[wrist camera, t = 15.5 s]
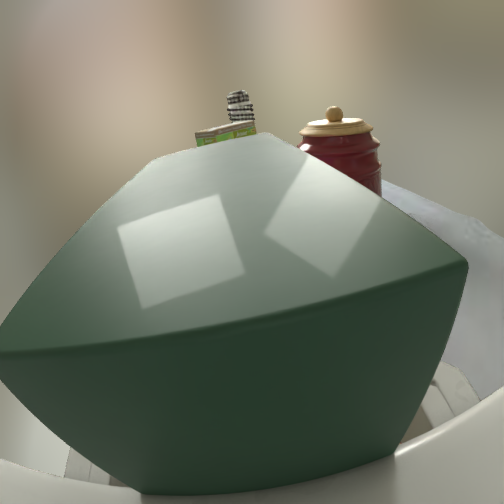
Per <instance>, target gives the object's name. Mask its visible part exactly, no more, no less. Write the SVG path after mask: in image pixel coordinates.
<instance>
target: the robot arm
mask: <svg viewBox="0 0 504 504" xmlns="http://www.w3.org/2000/svg"><path fill="white" fill-rule="evenodd" d="M401 442H402V444H400V445H398V447H397V449H396V450H395V452H394V453H393V454H391V455H389V456H386V457H384V458H381V459H378V460H376V461H373V462H370V463H368V464H365V465H362V466H359V467H356V468H353V469H350V470H347V471H343V472H340V473H337V474H333V475H330V476H326V477H322V478H318V479H314V480H310V481H306V482H301V483H297V484H292V485H287V486H282V487H276V488H270V489H264V490H257V491H250V492H241V493H231V494H218V495H198V496H166V495H145V494H141V493H139V492H138V491H136V490H134V489H132V488H131V487H129V486H127V485H125V484H124V483H122V482H121V481H119V480H117V479H116V478H114V477H113V476H111V475H109V474H108V473H106V472H105V471H103V470H102V469H100V468H99V467H97V466H96V465H95V464H93V463H92V462H90V461H89V460H87V459H86V458H85V457H83V456H82V455H81V454H79V453H78V452H77V451H75V450H74V449H73V448H72V447H70V452H69V456H68V460H67V465H66V470H65V475H64V477H60V476H56V475H52V474H48V473H44V472H41V471H37V470H34V469H30V468H27V467H24V466H21V465H18V464H15V463H12V462H10V461H7V460H4V459H1V458H0V504H504V386H503V387H501V388H500V389H498V390H497V391H496V392H494V393H493V394H491V395H490V396H488V397H487V398H485V399H484V400H482V401H481V400H480V398H479V397H478V395H477V394H476V392H475V390H474V389H473V387H472V386H471V384H470V383H469V381H468V380H467V378H466V377H465V376H464V374H463V373H462V371H461V370H460V369H458V368H456V367H454V366H451V365H449V364H447V363H445V362H443V361H440V363H439V365H438V367H437V370H436V372H435V375H434V377H433V379H432V382H431V384H430V386H429V388H428V390H427V393H426V395H425V397H424V399H423V401H422V403H421V405H420V407H419V409H418V411H417V413H416V415H415V417H414V419H413V421H412V422H411V424H410V426H409V428H408V430H407V432H406V433H405V435H404V437H403V439H402V440H401Z"/></svg>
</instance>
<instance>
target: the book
mask: <svg viewBox="0 0 504 504" xmlns="http://www.w3.org/2000/svg"><path fill="white" fill-rule="evenodd" d="M468 269H469V267H468V262H467V260H466V259H465V258H464V257H463V256H462V255H460V254H459V253H458V252H457V251H455V250H454V249H453V248H452V247H450V246H449V245H448V244H447V243H445V242H444V241H443V240H441V239H440V238H439V237H437V236H436V235H435V234H433V233H432V232H431V231H429V230H428V229H427V228H425V227H424V226H423V225H421V224H420V223H418V222H417V221H416V220H414V219H413V218H411V217H410V216H409V215H407V214H406V213H404V212H403V211H401V210H400V209H398V208H397V207H396V206H394V205H393V204H391V203H390V202H388V201H387V200H385V199H384V198H382V197H380V196H379V195H377V194H376V193H374V192H373V191H371V190H370V189H368V188H366V187H365V186H363V185H362V184H360V183H358V182H357V181H355V180H353V179H352V178H350V177H348V176H347V175H345V174H343V173H342V172H340V171H338V170H337V169H335V168H333V167H331V166H330V165H328V164H326V163H324V162H323V161H321V160H319V159H317V158H316V157H314V156H312V155H310V154H308V153H306V152H305V151H303V150H301V149H299V148H297V147H295V146H293V145H291V144H289V143H287V142H285V141H283V140H282V139H280V138H278V137H276V136H273V135H272V134H269V133H261V134H256V135H251V136H245V137H240V138H235V139H231V140H226V141H221V142H217V143H212V144H208V145H204V146H200V147H196V148H192V149H188V150H184V151H180V152H176V153H173V154H169V155H165V156H162V157H158V158H155V159H154V160H153V161H151V162H150V163H149V164H148V165H147V166H145V167H144V168H143V169H142V170H141V171H140V172H138V173H137V174H136V175H135V176H134V177H133V178H132V179H131V180H130V181H129V182H127V183H126V184H125V185H124V186H123V187H122V188H121V189H119V190H118V191H117V192H116V193H115V194H114V195H113V196H112V197H111V198H110V199H109V200H108V201H107V202H106V203H105V204H104V205H103V206H102V207H100V208H99V209H98V210H97V211H96V212H95V213H94V214H93V215H92V216H91V218H89V219H88V221H86V222H85V224H84V225H83V226H82V227H81V228H80V229H79V230H78V231H77V232H76V233H75V234H74V235H73V236H72V237H71V238H70V239H69V240H68V242H67V243H66V244H65V245H64V246H63V247H62V248H61V249H60V250H59V252H58V253H57V254H56V255H55V256H54V257H53V258H52V260H51V261H50V262H49V263H48V264H47V265H46V267H45V268H44V269H43V270H42V271H41V273H40V274H39V275H38V276H37V278H36V279H35V280H34V281H33V282H32V284H31V285H30V286H29V287H28V289H27V290H26V292H25V293H24V294H23V295H22V297H21V298H20V299H19V301H18V302H17V303H16V305H15V306H14V307H13V309H12V310H11V312H10V313H9V314H8V316H7V317H6V319H5V320H4V322H3V323H2V324H1V326H0V380H1V381H2V382H3V383H4V384H5V385H6V387H7V388H8V389H9V390H10V391H11V392H12V393H13V394H14V395H15V396H16V398H17V399H19V401H20V402H21V403H22V404H23V405H24V406H25V407H26V408H27V409H28V410H29V411H30V412H31V413H32V414H33V415H34V416H36V417H37V418H38V419H39V420H40V421H41V422H42V423H43V424H44V425H45V426H46V427H48V428H49V429H50V430H51V431H52V432H53V433H54V434H56V435H57V436H58V437H59V438H60V439H62V440H63V441H64V442H66V444H68V445H69V446H70V447H72V448H73V449H74V450H75V451H77V452H78V453H79V454H81V455H82V456H83V457H85V458H86V459H87V460H89V461H90V462H92V463H93V464H95V465H96V466H97V467H99V468H100V469H102V470H103V471H105V472H106V473H108V474H109V475H111V476H113V477H114V478H116V479H117V480H119V481H121V482H122V483H124V484H125V485H127V486H129V487H131V488H132V489H134V490H136V491H138V492H139V493H141V494H145V495H166V496H198V495H218V494H231V493H241V492H250V491H257V490H264V489H270V488H276V487H282V486H287V485H292V484H297V483H301V482H306V481H310V480H314V479H318V478H322V477H326V476H330V475H333V474H337V473H340V472H343V471H347V470H350V469H353V468H356V467H359V466H362V465H365V464H368V463H370V462H373V461H376V460H378V459H381V458H384V457H386V456H389V455H391V454H393V453H394V452H395V450H396V449H397V447H398V445H399V444H400V442H401V440H402V439H403V437H404V435H405V433H406V432H407V430H408V428H409V426H410V424H411V422H412V421H413V419H414V417H415V415H416V413H417V411H418V409H419V407H420V405H421V403H422V401H423V399H424V397H425V395H426V393H427V390H428V388H429V386H430V384H431V382H432V379H433V377H434V375H435V372H436V370H437V367H438V365H439V363H440V360H441V357H442V355H443V352H444V350H445V347H446V344H447V341H448V339H449V336H450V333H451V330H452V327H453V324H454V321H455V318H456V314H457V311H458V308H459V304H460V301H461V297H462V293H463V290H464V286H465V282H466V278H467V273H468Z"/></svg>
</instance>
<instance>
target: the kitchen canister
mask: <svg viewBox="0 0 504 504" xmlns="http://www.w3.org/2000/svg"><path fill="white" fill-rule="evenodd" d="M326 118H327V119H326V120H319V121H314V122H310V123H308V124H307V126H306V127H305V128H303V129H302V130H301V131H300V132H299V134H300V135H302V136H303V140H302V142H301V143H300V144H299V145H297V148H299V149H301V150H303V151H305V152H306V153H308V154H310V155H312V156H314V157H316V158H317V159H319V160H321V161H323V162H324V163H326V164H328V165H330V166H331V167H333V168H335V169H337V170H338V171H340V172H342V173H343V174H345V175H347V176H348V177H350V178H352V179H353V180H355V181H357V182H358V183H360V184H362V185H363V186H365V187H366V188H368V189H370V190H371V191H373V192H374V193H376V194H377V195H379V196H380V197H382V189H381V162H380V161H379V160H378V154H377V148H378V147H379V146H380V142H379V141H378V140H377V139H376V138H374V137H373V136H372V134H371V132H370V131H372V130H373V127H372V126H371V125H369V124H367V123H365V122H364V121H363V120H362V119H357V118H343V112H342V110H341V109H340V108H339V107H336V106H331V107H329V108H328V109H327V110H326Z"/></svg>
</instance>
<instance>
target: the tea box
mask: <svg viewBox="0 0 504 504" xmlns="http://www.w3.org/2000/svg"><path fill="white" fill-rule="evenodd" d="M251 135H256V128H255V123H254V121H242V122H235V123H230V124H226V125H222V126H218V127H214V128H210V129H206V130H202V131H199V132H196V133H195V137H196V141H197V146H198V147H200V146H204V145H208V144H212V143H217V142H221V141H226V140H231V139H235V138H240V137H245V136H251Z"/></svg>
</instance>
